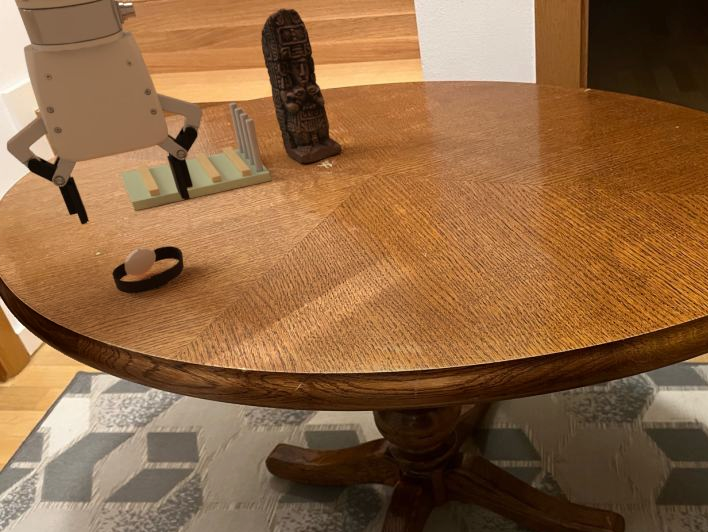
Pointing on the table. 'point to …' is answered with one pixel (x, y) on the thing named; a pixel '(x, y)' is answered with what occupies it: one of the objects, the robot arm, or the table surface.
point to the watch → (147, 269)
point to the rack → (202, 170)
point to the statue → (296, 88)
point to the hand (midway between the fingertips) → (135, 206)
